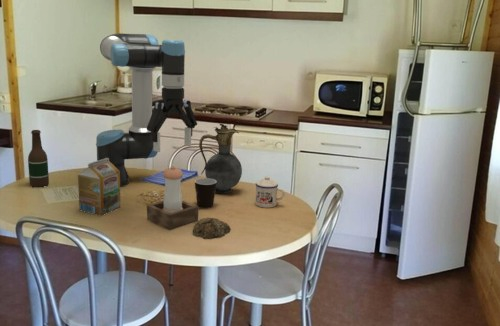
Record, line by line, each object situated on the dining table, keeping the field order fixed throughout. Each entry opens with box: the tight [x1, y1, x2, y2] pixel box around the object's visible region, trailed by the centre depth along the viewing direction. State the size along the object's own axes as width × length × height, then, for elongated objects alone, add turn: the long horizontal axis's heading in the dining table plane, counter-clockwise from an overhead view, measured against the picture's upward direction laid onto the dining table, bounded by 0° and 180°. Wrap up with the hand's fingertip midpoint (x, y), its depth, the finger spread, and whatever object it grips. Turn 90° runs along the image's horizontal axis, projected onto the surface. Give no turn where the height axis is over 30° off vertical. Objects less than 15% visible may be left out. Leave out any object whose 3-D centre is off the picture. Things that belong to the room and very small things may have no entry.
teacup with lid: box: [254, 175, 286, 209], centre depth 194 cm, size 12×9×12 cm
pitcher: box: [198, 123, 243, 195], centre depth 206 cm, size 11×19×30 cm, turn 76°
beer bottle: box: [27, 129, 50, 188], centre depth 203 cm, size 8×8×24 cm
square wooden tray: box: [146, 200, 199, 231], centre depth 173 cm, size 13×13×6 cm
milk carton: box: [77, 158, 122, 217], centre depth 180 cm, size 11×11×19 cm
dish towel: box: [139, 167, 199, 187], centre depth 225 cm, size 17×24×3 cm
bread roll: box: [192, 217, 231, 240], centre depth 165 cm, size 13×12×5 cm
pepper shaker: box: [163, 165, 183, 213], centre depth 171 cm, size 7×7×19 cm
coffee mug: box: [194, 177, 217, 209], centre depth 191 cm, size 12×9×10 cm
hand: (172, 148), depth 168 cm, fingers open, 13 cm apart
